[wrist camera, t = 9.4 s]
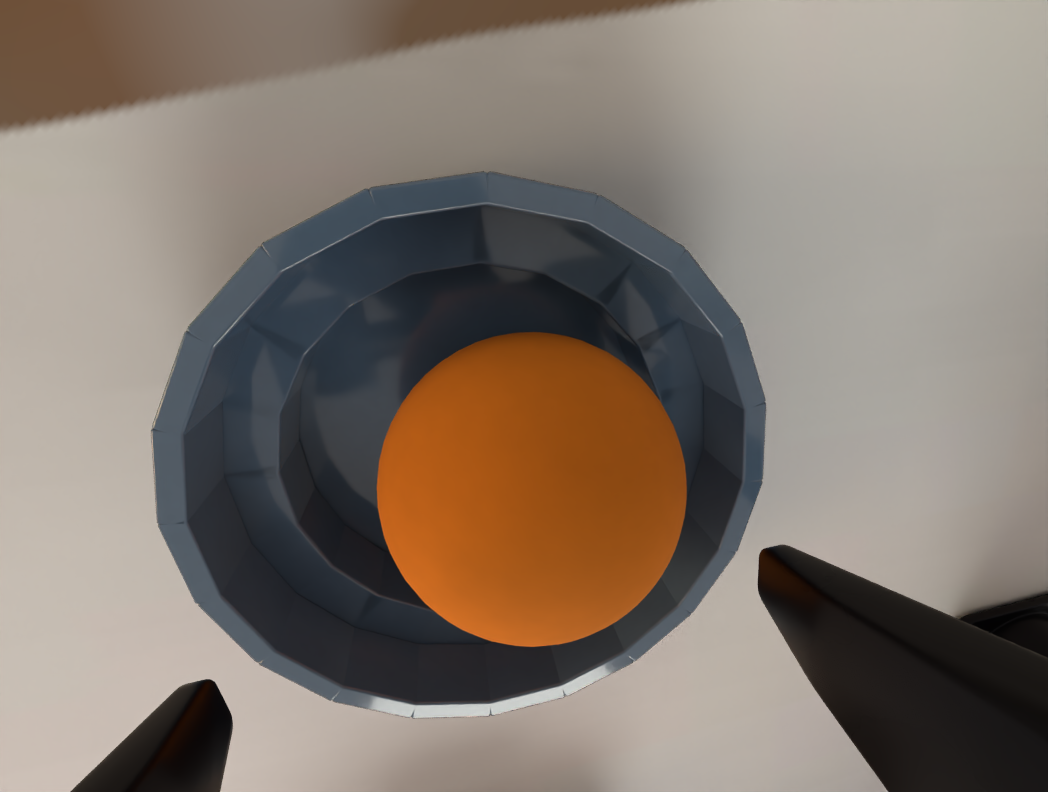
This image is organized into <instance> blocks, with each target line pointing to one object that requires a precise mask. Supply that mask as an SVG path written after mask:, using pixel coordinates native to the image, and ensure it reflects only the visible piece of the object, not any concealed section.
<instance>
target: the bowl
mask: <svg viewBox="0 0 1048 792" xmlns="http://www.w3.org/2000/svg"><path fill="white" fill-rule="evenodd" d="M520 332H543V333H552V334H558V335H564V336H568V337H572V338H575V339H579V340H582V341H584V342H587V343H589V344H591V345H593V346H595V347H598V348H600V349H602V350H604V351H606V352H608V353H610V354H611V355H613V356H614V357H616V358H617V359H619V360H620V361H622V362H623V363H624V364H626V365H627V366H628V367H630V368H631V369H632V370H633V371H634V372H635V373H636V374H637V375H638V376H639V377H641V378H642V379H643V381H644V382H645V383H646V384H647V385H648V386H649V388H650V389H651V390H652V391H653V393H654V394H655V395H656V396H657V398H658V399H659V400H660V402H661V404H662V405H663V407H664V409H665V411H666V413H667V415H668V416H669V418H670V420H671V422H672V424H673V426H674V428H675V431H676V434H677V436H678V439H679V443H680V446H681V450H682V454H683V458H684V463H685V471H686V485H687V498H686V510H685V517H684V521H683V525H682V529H681V533H680V537H679V540H678V543H677V546H676V549H675V551H674V553H673V556H672V558H671V560H670V562H669V564H668V566H667V568H666V569H665V571H664V573H663V574H662V576H661V577H660V579H659V580H658V582H657V583H656V585H655V586H654V587H653V588H652V590H651V591H650V592H649V593H648V594H647V596H646V597H645V598H644V599H643V600H642V601H641V602H640V603H639V604H638V605H637V606H636V607H635V608H633V609H632V610H631V611H630V612H629V613H628V614H626V615H625V616H623V617H622V618H621V619H619V620H618V621H617V622H615V623H613V624H611V625H610V626H608V627H606V628H604V629H602V630H600V631H598V632H596V633H594V634H591V635H589V636H587V637H584V638H581V639H578V640H575V641H572V642H568V643H563V644H558V645H548V646H537V647H526V646H514V645H508V644H503V643H498V642H493V641H489V640H486V639H483V638H481V637H478V636H476V635H473V634H471V633H468V632H466V631H464V630H462V629H460V628H458V627H456V626H455V625H453V624H451V623H450V622H448V621H447V620H445V619H444V618H443V617H441V616H440V615H438V614H437V613H436V612H435V611H434V610H432V609H431V608H430V607H429V606H428V605H426V604H425V603H424V602H423V600H422V599H421V598H420V597H419V596H418V595H417V593H416V592H415V591H414V590H413V589H412V588H411V586H410V585H409V584H408V583H407V582H406V580H405V579H404V577H403V575H402V574H401V572H400V570H399V569H398V567H397V565H396V563H395V561H394V559H393V558H392V556H391V554H390V551H389V548H388V546H387V543H386V541H385V538H384V535H383V530H382V526H381V521H380V516H379V511H378V503H377V478H378V468H379V459H380V455H381V451H382V447H383V443H384V440H385V437H386V435H387V432H388V430H389V427H390V424H391V422H392V420H393V419H394V417H395V415H396V413H397V411H398V409H399V408H400V406H401V404H402V403H403V401H404V400H405V398H406V397H407V396H408V394H409V393H410V391H411V390H412V389H413V387H414V386H415V385H416V384H417V383H418V382H419V381H420V380H421V379H422V378H423V377H424V376H425V375H426V374H427V373H428V372H429V371H430V370H431V369H433V368H434V367H435V366H436V365H437V364H439V363H440V362H441V361H443V360H444V359H446V358H448V357H449V356H451V355H452V354H454V353H455V352H457V351H459V350H461V349H463V348H465V347H467V346H469V345H471V344H473V343H475V342H478V341H481V340H484V339H487V338H491V337H494V336H499V335H505V334H511V333H520ZM765 400H766V399H765V396H764V393H763V389H762V386H761V383H760V380H759V376H758V373H757V370H756V366H755V363H754V360H753V356H752V353H751V350H750V347H749V343H748V340H747V337H746V333H745V330H744V327H743V324H742V323H741V320H740V318H739V317H738V316H737V314H736V313H735V312H734V310H733V309H732V308H731V306H730V305H729V304H728V303H727V301H726V300H725V299H724V297H723V296H722V295H721V293H720V292H719V291H718V289H717V288H716V287H715V286H714V284H713V283H712V282H711V280H710V279H709V278H708V276H707V275H706V274H705V273H704V271H703V270H702V269H701V267H700V266H699V265H698V263H697V262H696V261H695V260H694V258H693V257H692V256H691V254H690V253H689V252H688V250H686V249H685V247H684V246H682V245H681V244H679V243H677V242H676V241H674V240H672V239H671V238H669V237H668V236H666V235H664V234H663V233H661V232H660V231H658V230H656V229H655V228H653V227H652V226H650V225H648V224H647V223H645V222H643V221H642V220H640V219H639V218H637V217H635V216H634V215H632V214H631V213H629V212H627V211H626V210H624V209H623V208H621V207H619V206H618V205H616V204H614V203H613V202H611V201H610V200H608V199H606V198H605V197H603V196H602V195H597V194H596V193H592V192H588V191H583V190H578V189H573V188H568V187H563V186H559V185H554V184H549V183H544V182H539V181H534V180H530V179H525V178H520V177H515V176H510V175H505V174H501V173H496V172H491V171H490V172H487V173H486V172H484V171H482V172H475V173H468V174H461V175H453V176H446V177H439V178H432V179H425V180H418V181H411V182H404V183H396V184H389V185H382V186H375V187H371V188H369V189H364V190H362V191H360V192H358V193H356V194H354V195H352V196H350V197H349V198H347V199H345V200H343V201H341V202H339V203H337V204H335V205H333V206H332V207H330V208H328V209H326V210H324V211H322V212H320V213H318V214H316V215H314V216H313V217H311V218H309V219H307V220H305V221H303V222H301V223H299V224H297V225H296V226H294V227H292V228H290V229H288V230H286V231H284V232H282V233H280V234H278V235H277V236H275V237H273V238H271V239H269V240H267V241H265V242H263V243H262V246H259V247H258V248H257V249H256V250H255V251H254V252H253V254H252V255H251V256H250V257H249V258H248V259H247V260H246V261H245V263H244V264H243V265H242V266H241V267H240V268H239V269H238V271H237V272H236V273H235V274H234V275H233V276H232V277H231V279H230V280H229V281H228V282H227V283H226V284H225V285H224V286H223V288H222V289H221V290H220V291H219V292H218V293H217V294H216V296H215V297H214V298H213V299H212V300H211V301H210V302H209V304H208V305H207V306H206V307H205V308H204V309H203V310H202V311H201V313H200V314H199V315H198V316H197V317H196V318H195V319H194V321H193V322H192V323H191V324H190V325H189V326H188V329H187V331H186V332H185V333H184V336H183V339H182V341H181V344H180V347H179V350H178V353H177V356H176V359H175V362H174V364H173V367H172V370H171V373H170V376H169V379H168V382H167V385H166V388H165V390H164V393H163V396H162V399H161V402H160V405H159V408H158V411H157V413H156V416H155V419H154V422H153V425H152V427H153V429H152V430H151V439H152V454H153V469H154V484H155V499H156V514H157V523H158V527H159V529H160V531H161V533H162V535H163V537H164V539H165V541H166V544H167V546H168V548H169V550H170V552H171V554H172V556H173V558H174V560H175V562H176V564H177V566H178V568H179V570H180V572H181V574H182V576H183V579H184V581H185V583H186V585H187V587H188V589H189V591H190V593H191V595H192V597H193V599H194V601H195V603H196V604H198V606H199V607H200V608H201V609H202V610H203V611H204V612H205V613H206V614H207V615H208V616H209V617H210V618H211V619H212V620H213V621H214V622H215V623H216V624H217V625H218V626H219V627H221V628H222V629H223V630H224V631H225V632H226V633H227V634H228V635H229V636H230V637H231V638H232V639H233V640H234V641H235V642H236V643H237V644H238V645H239V646H240V647H241V648H242V649H243V650H244V651H245V652H246V653H247V654H248V655H249V656H250V657H251V658H252V659H253V660H254V661H255V662H257V663H258V662H259V664H260V665H261V666H263V667H265V668H267V669H269V670H271V671H273V672H275V673H277V674H279V675H281V676H283V677H284V678H286V679H288V680H290V681H292V682H294V683H296V684H298V685H300V686H302V687H304V688H306V689H308V690H310V691H312V692H314V693H316V694H318V695H320V696H322V697H324V698H326V699H328V700H330V701H331V700H333V702H336V703H341V704H345V705H350V706H355V707H360V708H364V709H369V710H374V711H378V712H383V713H388V714H392V715H397V716H402V717H407V718H410V717H412V718H449V717H486V716H490V714H491V716H494V715H498V714H502V713H505V712H509V711H513V710H517V709H521V708H525V707H529V706H533V705H537V704H541V703H545V702H548V701H552V700H556V699H560V698H564V697H565V695H566V696H569V695H571V694H573V693H575V692H577V691H579V690H581V689H583V688H585V687H587V686H589V685H591V684H593V683H594V682H596V681H598V680H600V679H602V678H604V677H606V676H608V675H610V674H612V673H614V672H616V671H618V670H620V669H622V668H624V667H626V666H628V665H630V664H632V663H633V661H636V660H638V659H639V658H640V657H641V656H642V655H643V654H645V653H646V652H647V651H648V650H649V649H651V648H652V647H653V646H654V645H655V644H657V643H658V642H659V641H660V640H661V639H662V638H664V637H665V636H666V635H667V634H668V633H670V632H671V631H672V630H673V629H674V628H676V627H677V626H678V625H679V624H680V623H682V622H683V621H684V620H685V619H686V618H687V617H689V616H690V615H691V613H693V612H694V611H695V609H696V608H697V606H698V605H699V604H700V602H701V601H702V599H703V598H704V597H705V595H706V594H707V593H708V591H709V590H710V588H711V587H712V586H713V584H714V583H715V581H716V580H717V579H718V577H719V576H720V575H721V573H722V572H723V570H724V569H725V568H726V566H727V565H728V563H729V562H730V561H731V559H732V558H733V557H734V555H735V553H736V551H737V550H738V547H739V545H740V542H741V539H742V537H743V534H744V531H745V528H746V526H747V523H748V520H749V517H750V515H751V512H752V509H753V507H754V504H755V501H756V498H757V496H758V493H759V490H760V488H761V485H762V479H763V465H764V442H765V420H766V403H765Z"/></svg>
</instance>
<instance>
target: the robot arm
mask: <svg viewBox="0 0 1048 792" xmlns="http://www.w3.org/2000/svg"><path fill="white" fill-rule="evenodd" d="M758 591H759V594H760V597H761V600H762V601H763V603H764V605H765V607H766V608H767V610H768V612H769V613H770V615H771V617H772V619H773V620H774V622H775V624H776V625H777V627H778V629H779V630H780V632H781V634H782V636H783V637H784V639H785V641H786V642H787V644H788V646H789V647H790V649H791V651H792V653H793V654H794V656H795V658H796V659H797V661H798V663H799V664H800V666H801V668H802V669H803V671H804V673H805V674H806V676H807V678H808V679H809V681H810V682H811V684H812V686H813V687H814V689H815V690H816V692H817V693H818V694H819V696H820V697H821V699H822V700H823V702H824V703H825V704H826V706H827V707H828V709H829V710H830V711H831V713H832V714H833V716H834V717H835V718H836V720H837V721H838V722H839V724H840V725H841V727H842V728H843V729H844V731H845V732H846V734H847V735H848V736H849V738H850V739H851V741H852V742H853V743H854V745H855V746H856V747H857V749H858V750H859V752H860V753H861V754H862V756H863V757H864V759H865V760H866V761H867V763H868V764H869V765H870V767H871V768H872V770H873V771H874V772H875V774H876V775H877V777H878V778H879V779H880V781H881V782H882V784H883V785H884V786H885V788H886V789H887V790H888V792H1048V595H1044V596H1040V597H1037V598H1033V599H1029V600H1025V601H1021V602H1017V603H1014V604H1010V605H1006V606H1002V607H998V608H994V609H991V610H987V611H983V612H979V613H975V614H971V615H968V616H965V617H963V618H961V619H960V620H959V619H957V618H954V617H952V616H950V615H947V614H945V613H943V612H940V611H938V610H936V609H934V608H931V607H929V606H927V605H924V604H922V603H920V602H917V601H915V600H913V599H910V598H908V597H906V596H903V595H901V594H899V593H897V592H894V591H892V590H890V589H887V588H885V587H883V586H880V585H878V584H876V583H873V582H871V581H869V580H866V579H864V578H862V577H860V576H857V575H855V574H853V573H850V572H848V571H846V570H843V569H841V568H839V567H836V566H834V565H832V564H829V563H827V562H825V561H823V560H820V559H818V558H816V557H813V556H811V555H809V554H806V553H804V552H802V551H799V550H797V549H795V548H793V547H790V546H787V545H778V546H773V547H769V548H765V549H763V550H762V551H761V552H760V555H759V570H758ZM232 729H233V721H232V716H231V713H230V711H229V709H228V707H227V705H226V703H225V701H224V699H223V697H222V695H221V693H220V691H219V689H218V687H217V685H216V683H215V682H214V681H212V680H210V679H205V680H201V681H197V682H193V683H188V684H185V685H182V686H181V687H179V688H178V689H177V690H176V691H174V692H173V693H172V694H171V695H170V696H169V697H168V698H167V699H166V700H165V701H164V702H163V703H162V704H161V705H160V706H159V707H158V708H157V709H156V710H155V711H154V712H153V713H152V714H151V715H149V716H148V717H147V718H146V719H145V720H144V721H143V722H142V723H141V724H140V725H139V726H138V727H137V728H136V729H135V730H134V731H133V732H132V733H131V734H130V735H129V736H128V737H127V738H126V739H125V740H124V741H122V742H121V743H120V744H119V745H118V746H117V747H116V748H115V749H114V750H113V751H112V752H111V753H110V754H109V755H108V756H107V757H106V758H105V759H104V760H103V761H102V762H101V763H100V764H99V765H98V766H97V767H95V768H94V769H93V770H92V771H91V772H90V773H89V774H88V775H87V776H86V777H85V778H84V779H83V780H82V781H81V782H80V783H79V784H78V785H77V786H76V787H75V788H74V789H73V790H72V791H71V792H220V789H221V784H222V779H223V775H224V770H225V765H226V760H227V755H228V750H229V745H230V740H231V735H232Z"/></svg>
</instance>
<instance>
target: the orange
mask: <svg viewBox="0 0 1048 792" xmlns="http://www.w3.org/2000/svg"><path fill="white" fill-rule="evenodd" d="M686 498H687V485H686V471H685V463H684V458H683V454H682V450H681V446H680V443H679V439H678V436H677V434H676V431H675V428H674V426H673V424H672V422H671V420H670V418H669V416H668V415H667V413H666V411H665V409H664V407H663V405H662V404H661V402H660V400H659V399H658V398H657V396H656V395H655V394H654V393H653V391H652V390H651V389H650V388H649V386H648V385H647V384H646V383H645V382H644V381H643V379H642V378H641V377H639V376H638V375H637V374H636V373H635V372H634V371H633V370H632V369H631V368H630V367H628V366H627V365H626V364H624V363H623V362H622V361H620V360H619V359H617V358H616V357H614V356H613V355H611V354H610V353H608V352H606V351H604V350H602V349H600V348H598V347H595V346H593V345H591V344H589V343H587V342H584V341H582V340H579V339H575V338H572V337H568V336H564V335H558V334H552V333H543V332H520V333H511V334H505V335H499V336H494V337H491V338H487V339H484V340H481V341H478V342H475V343H473V344H471V345H469V346H467V347H465V348H463V349H461V350H459V351H457V352H455V353H454V354H452V355H451V356H449V357H448V358H446V359H444V360H443V361H441V362H440V363H439V364H437V365H436V366H435V367H434V368H433V369H431V370H430V371H429V372H428V373H427V374H426V375H425V376H424V377H423V378H422V379H421V380H420V381H419V382H418V383H417V384H416V385H415V386H414V387H413V389H412V390H411V391H410V393H409V394H408V396H407V397H406V398H405V400H404V401H403V403H402V404H401V406H400V408H399V409H398V411H397V413H396V415H395V417H394V419H393V420H392V422H391V424H390V427H389V430H388V432H387V435H386V437H385V440H384V443H383V447H382V451H381V455H380V459H379V468H378V478H377V503H378V511H379V516H380V521H381V526H382V530H383V535H384V538H385V541H386V543H387V546H388V548H389V551H390V554H391V556H392V558H393V559H394V561H395V563H396V565H397V567H398V569H399V570H400V572H401V574H402V575H403V577H404V579H405V580H406V582H407V583H408V584H409V585H410V586H411V588H412V589H413V590H414V591H415V592H416V593H417V595H418V596H419V597H420V598H421V599H422V600H423V602H424V603H425V604H426V605H428V606H429V607H430V608H431V609H432V610H434V611H435V612H436V613H437V614H438V615H440V616H441V617H443V618H444V619H445V620H447V621H448V622H450V623H451V624H453V625H455V626H456V627H458V628H460V629H462V630H464V631H466V632H468V633H471V634H473V635H476V636H478V637H481V638H483V639H486V640H489V641H493V642H498V643H503V644H508V645H514V646H526V647H537V646H548V645H558V644H563V643H568V642H572V641H575V640H578V639H581V638H584V637H587V636H589V635H591V634H594V633H596V632H598V631H600V630H602V629H604V628H606V627H608V626H610V625H611V624H613V623H615V622H617V621H618V620H619V619H621V618H622V617H623V616H625V615H626V614H628V613H629V612H630V611H631V610H632V609H633V608H635V607H636V606H637V605H638V604H639V603H640V602H641V601H642V600H643V599H644V598H645V597H646V596H647V594H648V593H649V592H650V591H651V590H652V588H653V587H654V586H655V585H656V583H657V582H658V580H659V579H660V577H661V576H662V574H663V573H664V571H665V569H666V568H667V566H668V564H669V562H670V560H671V558H672V556H673V553H674V551H675V549H676V546H677V543H678V540H679V537H680V533H681V529H682V525H683V521H684V517H685V510H686Z"/></svg>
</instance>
